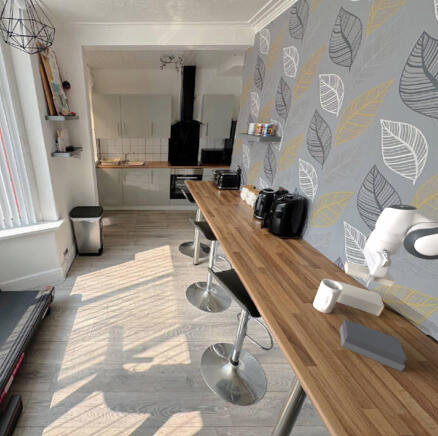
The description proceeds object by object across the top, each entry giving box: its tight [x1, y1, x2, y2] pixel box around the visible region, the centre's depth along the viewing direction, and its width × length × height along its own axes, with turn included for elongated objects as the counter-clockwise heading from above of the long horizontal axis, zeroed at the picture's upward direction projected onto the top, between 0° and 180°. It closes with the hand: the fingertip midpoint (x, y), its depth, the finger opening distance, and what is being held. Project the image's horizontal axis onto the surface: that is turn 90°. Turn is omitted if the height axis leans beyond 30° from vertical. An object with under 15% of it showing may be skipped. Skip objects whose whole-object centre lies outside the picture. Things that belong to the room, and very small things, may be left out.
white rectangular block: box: [336, 280, 385, 317], centre depth 100 cm, size 15×9×5 cm, turn 57°
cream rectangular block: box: [343, 261, 395, 288], centre depth 95 cm, size 14×6×2 cm, turn 57°
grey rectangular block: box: [339, 319, 407, 372], centre depth 79 cm, size 15×9×5 cm, turn 57°
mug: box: [312, 278, 343, 314], centre depth 93 cm, size 10×7×12 cm, turn 148°
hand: (367, 274), depth 95 cm, fingers closed on cream rectangular block, 6 cm apart
